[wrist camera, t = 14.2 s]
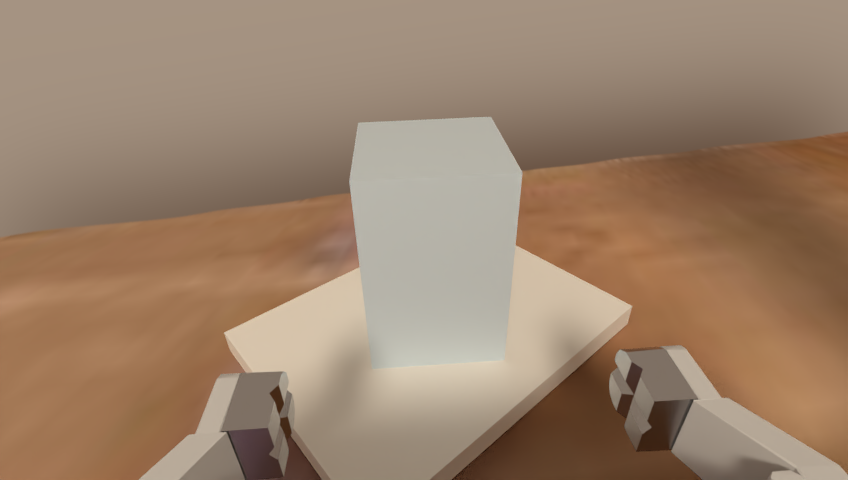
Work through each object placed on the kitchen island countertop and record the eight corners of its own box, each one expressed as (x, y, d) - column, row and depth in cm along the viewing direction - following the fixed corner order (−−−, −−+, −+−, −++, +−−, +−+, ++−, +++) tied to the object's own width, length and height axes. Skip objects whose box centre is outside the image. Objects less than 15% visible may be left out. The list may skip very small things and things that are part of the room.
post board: (461, 232, 32) (464, 113, 28) (627, 323, 24) (668, 178, 20) (230, 350, 23) (179, 204, 19) (371, 549, 16) (342, 382, 11)
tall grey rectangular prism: (482, 279, 26) (490, 116, 21) (504, 360, 21) (522, 172, 16) (375, 285, 25) (358, 122, 21) (372, 369, 21) (349, 181, 16)
